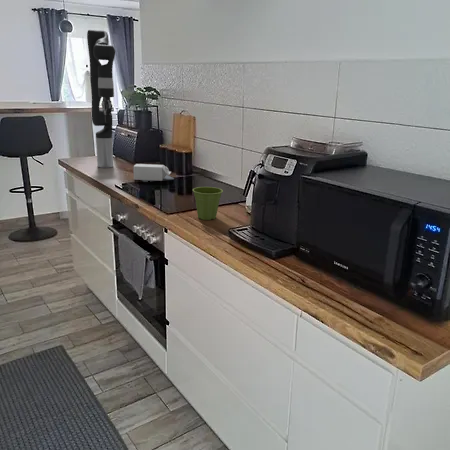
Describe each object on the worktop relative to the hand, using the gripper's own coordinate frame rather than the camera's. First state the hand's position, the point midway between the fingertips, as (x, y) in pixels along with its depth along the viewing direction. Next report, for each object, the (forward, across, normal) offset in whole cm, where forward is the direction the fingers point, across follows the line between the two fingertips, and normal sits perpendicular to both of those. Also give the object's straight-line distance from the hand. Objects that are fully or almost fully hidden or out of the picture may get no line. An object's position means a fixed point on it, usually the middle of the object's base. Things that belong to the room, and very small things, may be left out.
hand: (107, 122), depth 229 cm
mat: (+29, -10, -22) cm, 37 cm away
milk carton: (+25, -9, -10) cm, 28 cm away
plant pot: (+29, -85, -16) cm, 91 cm away
